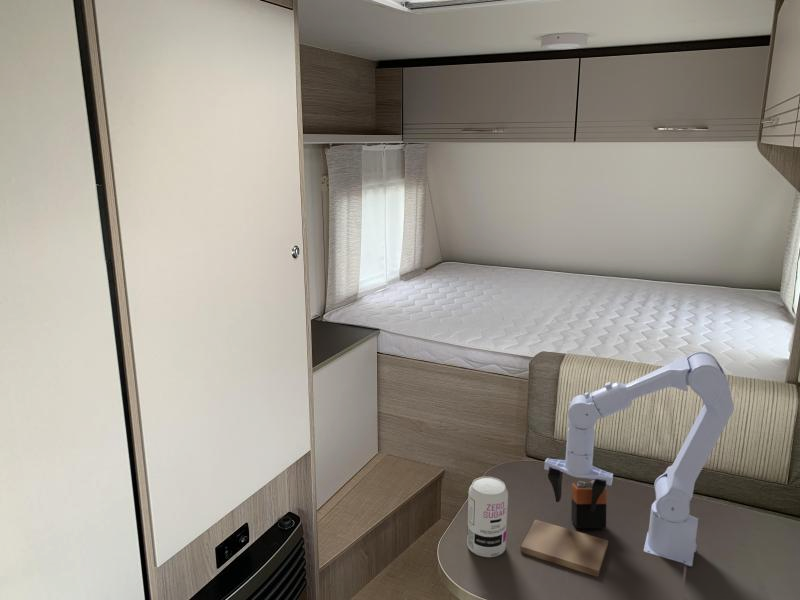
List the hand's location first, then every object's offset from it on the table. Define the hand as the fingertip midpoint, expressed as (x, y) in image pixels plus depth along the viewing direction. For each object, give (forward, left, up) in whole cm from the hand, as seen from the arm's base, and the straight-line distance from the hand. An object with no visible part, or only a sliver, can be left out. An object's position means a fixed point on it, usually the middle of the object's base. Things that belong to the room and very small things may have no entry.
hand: (575, 504), depth 133 cm
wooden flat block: (0, +9, -6) cm, 11 cm away
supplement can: (+15, +16, -6) cm, 23 cm away
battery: (-3, -2, -6) cm, 7 cm away
